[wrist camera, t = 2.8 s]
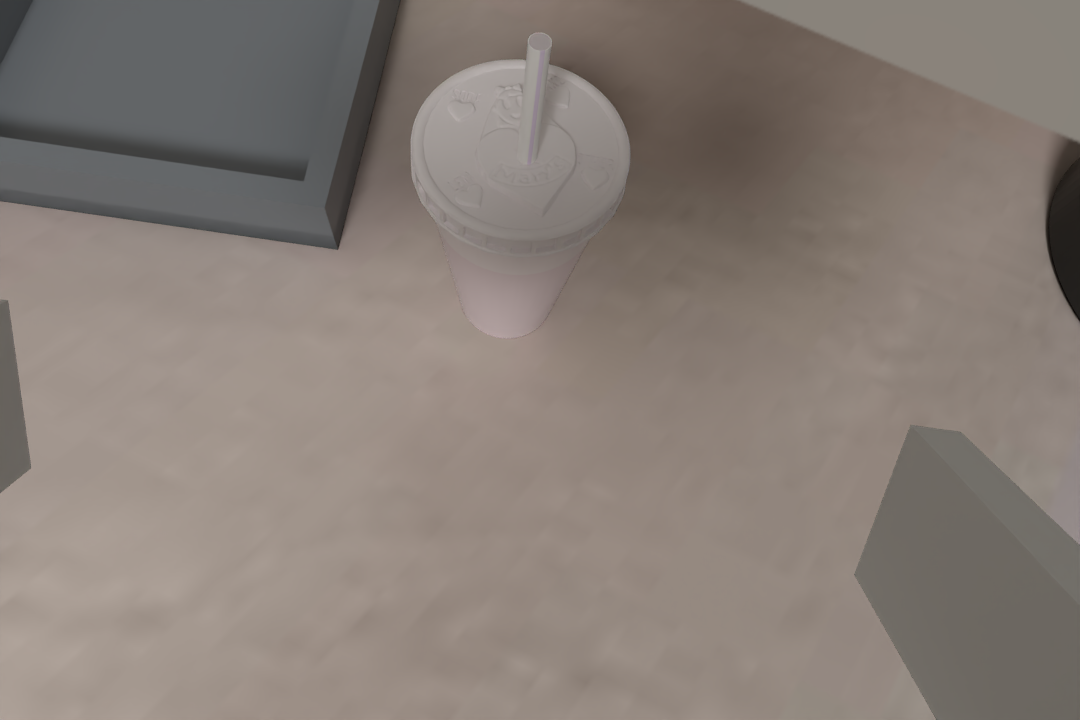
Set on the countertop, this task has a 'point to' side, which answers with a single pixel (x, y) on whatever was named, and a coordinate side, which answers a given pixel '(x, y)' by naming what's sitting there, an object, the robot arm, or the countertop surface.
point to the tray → (191, 110)
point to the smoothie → (517, 181)
